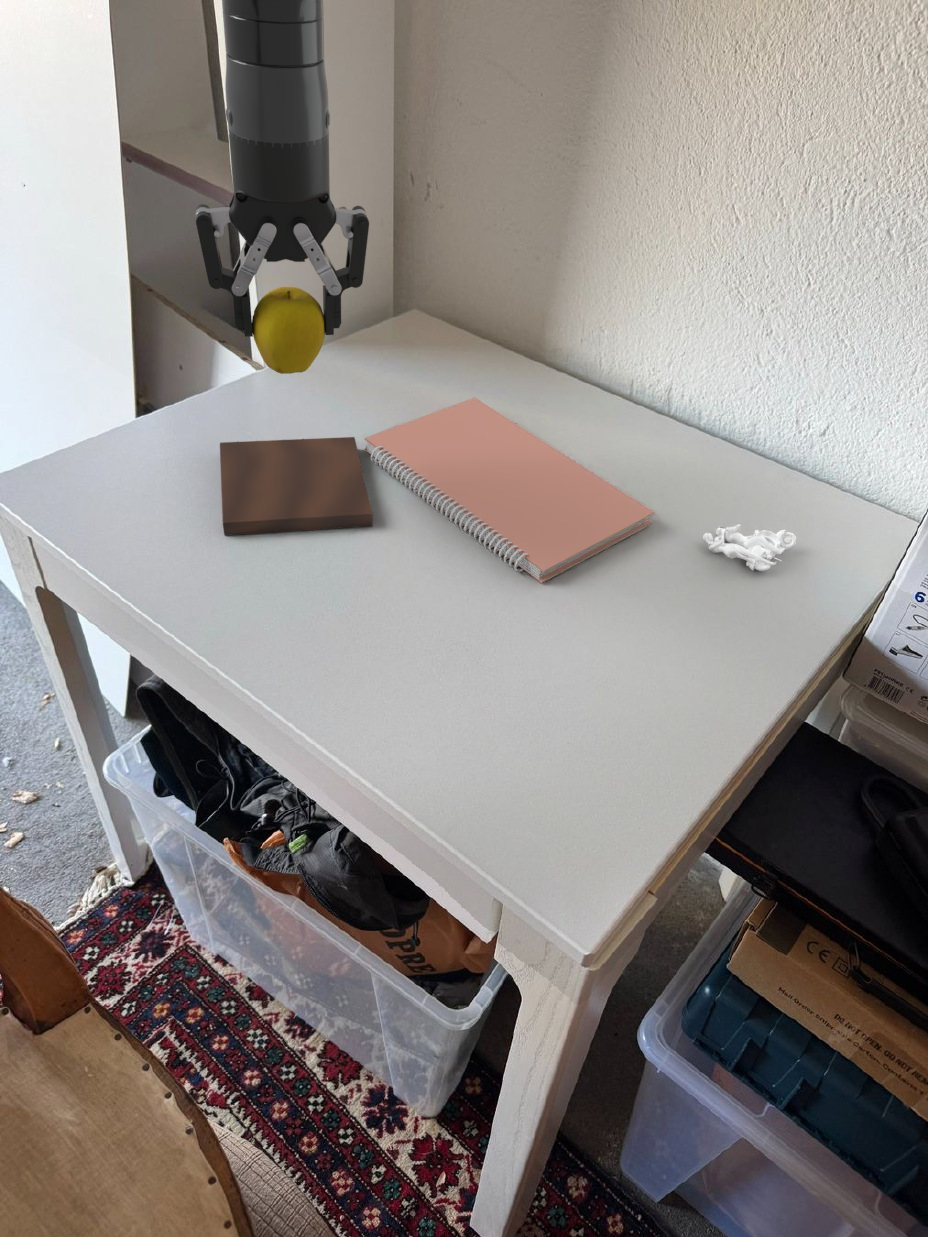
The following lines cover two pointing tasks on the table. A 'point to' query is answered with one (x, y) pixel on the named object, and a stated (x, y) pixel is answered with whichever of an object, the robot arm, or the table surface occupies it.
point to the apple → (288, 329)
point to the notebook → (508, 487)
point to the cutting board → (292, 486)
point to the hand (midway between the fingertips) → (288, 331)
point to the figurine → (751, 545)
